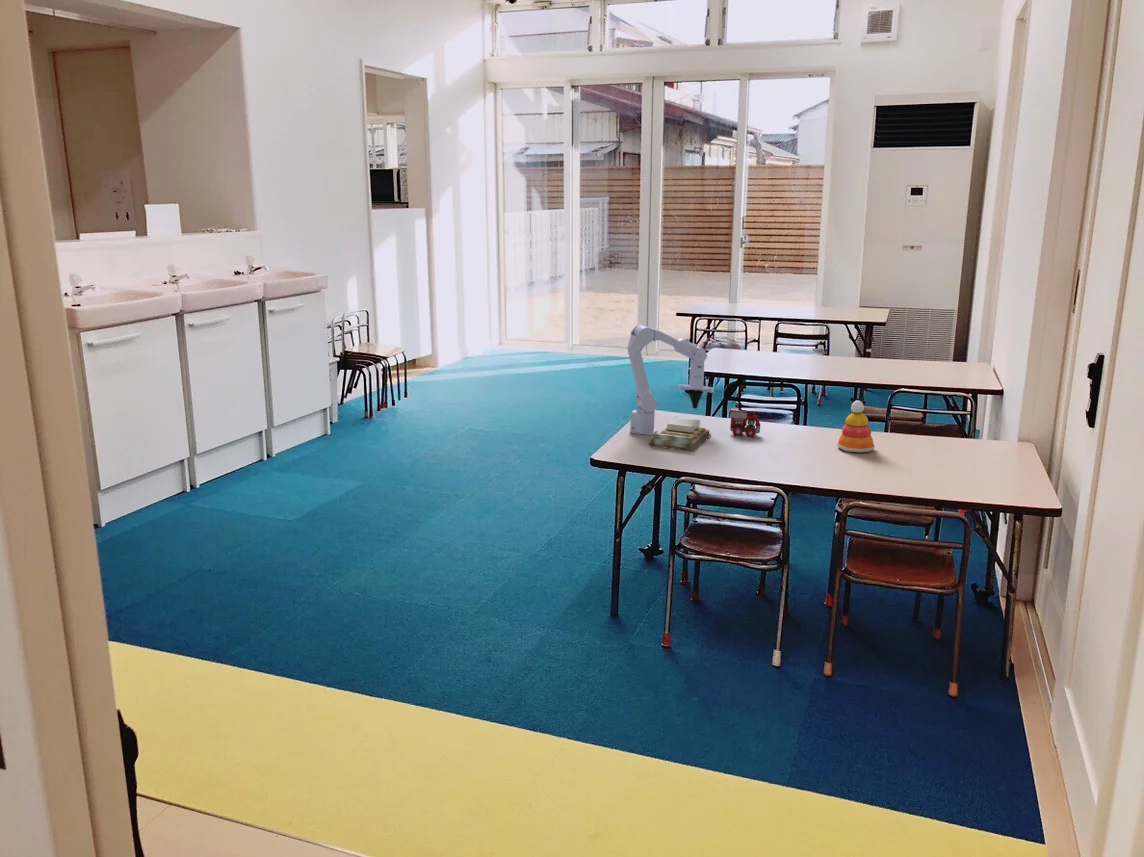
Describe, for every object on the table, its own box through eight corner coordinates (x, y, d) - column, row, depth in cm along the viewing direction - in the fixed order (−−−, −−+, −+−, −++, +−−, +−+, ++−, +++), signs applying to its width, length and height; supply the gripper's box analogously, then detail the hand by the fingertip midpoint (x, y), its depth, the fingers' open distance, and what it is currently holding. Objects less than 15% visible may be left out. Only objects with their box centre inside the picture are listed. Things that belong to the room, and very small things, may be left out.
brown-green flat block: (648, 445, 349) (648, 433, 348) (668, 430, 372) (669, 419, 370) (692, 451, 342) (693, 438, 341) (710, 436, 364) (711, 424, 363)
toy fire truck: (759, 438, 362) (761, 413, 359) (728, 436, 364) (730, 411, 361) (759, 434, 369) (761, 409, 366) (729, 432, 371) (730, 408, 368)
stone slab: (667, 429, 359) (667, 423, 359) (676, 422, 370) (676, 417, 369) (691, 432, 355) (691, 426, 355) (699, 425, 366) (700, 420, 365)
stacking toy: (870, 445, 354) (874, 397, 349) (878, 455, 341) (883, 405, 336) (833, 443, 356) (837, 395, 351) (840, 453, 342) (844, 404, 337)
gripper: (716, 375, 369) (714, 407, 372) (682, 372, 374) (681, 404, 378) (711, 378, 362) (710, 411, 366) (677, 375, 368) (676, 407, 371)
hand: (695, 408), depth 371 cm, fingers closed
